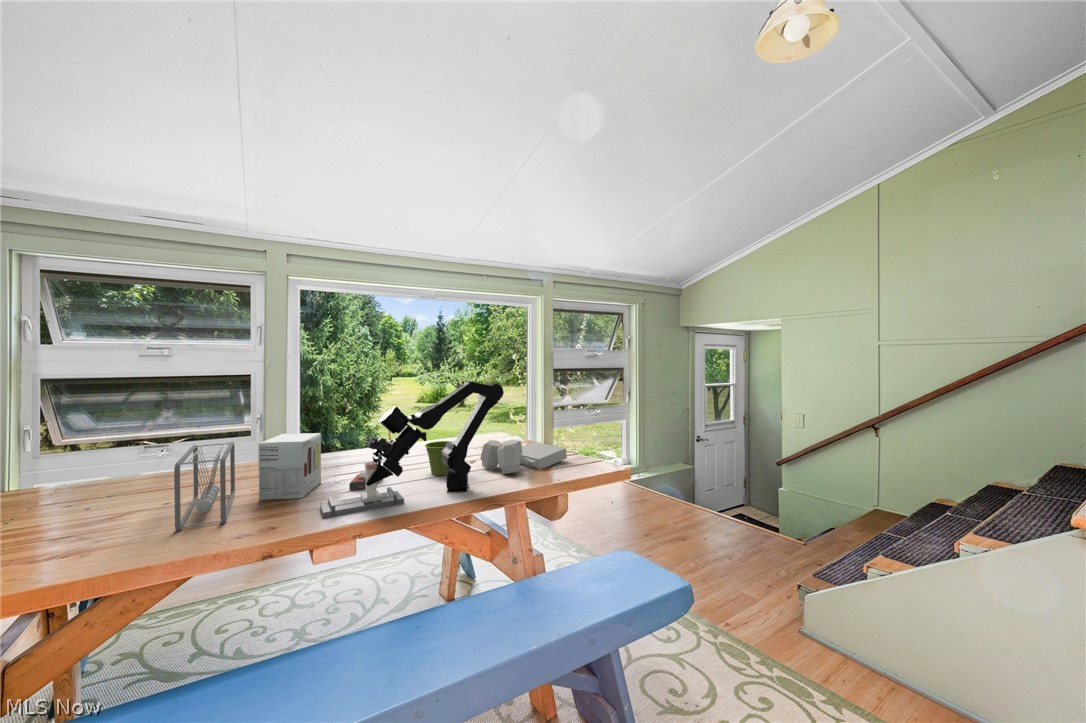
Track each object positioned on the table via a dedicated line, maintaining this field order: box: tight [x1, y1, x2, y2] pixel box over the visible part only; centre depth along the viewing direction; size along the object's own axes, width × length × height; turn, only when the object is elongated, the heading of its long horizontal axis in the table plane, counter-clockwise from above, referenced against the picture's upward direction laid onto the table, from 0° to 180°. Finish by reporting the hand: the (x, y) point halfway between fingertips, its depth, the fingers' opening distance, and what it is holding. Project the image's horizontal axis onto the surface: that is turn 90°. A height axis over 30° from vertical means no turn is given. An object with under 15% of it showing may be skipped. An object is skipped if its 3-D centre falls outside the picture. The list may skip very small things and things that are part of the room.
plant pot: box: [424, 440, 453, 476], centre depth 164 cm, size 12×12×11 cm
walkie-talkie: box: [349, 470, 382, 491], centre depth 152 cm, size 9×4×20 cm
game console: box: [480, 439, 568, 475], centre depth 175 cm, size 20×32×13 cm, turn 135°
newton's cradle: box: [173, 441, 236, 532], centre depth 124 cm, size 30×10×18 cm, turn 32°
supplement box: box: [258, 432, 322, 501], centre depth 142 cm, size 17×13×18 cm
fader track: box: [319, 486, 405, 519], centre depth 128 cm, size 22×9×3 cm, turn 122°
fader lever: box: [360, 461, 382, 503], centre depth 129 cm, size 5×6×11 cm
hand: (366, 483), depth 129 cm, fingers closed on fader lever, 3 cm apart
